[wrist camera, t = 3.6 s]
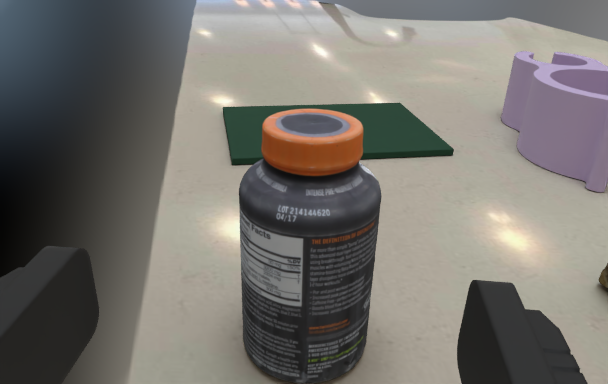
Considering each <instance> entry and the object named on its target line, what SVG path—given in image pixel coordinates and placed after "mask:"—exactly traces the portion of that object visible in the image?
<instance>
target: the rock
mask: <svg viewBox="0 0 608 384" xmlns="http://www.w3.org/2000/svg"><path fill="white" fill-rule="evenodd" d="M599 282H600V283H601V284H602V285H604V286H605V287H606V288H608V263H607V266H606V268H605V269H604V270H603V271H602V273H601V276H600V277H599Z"/></svg>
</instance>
